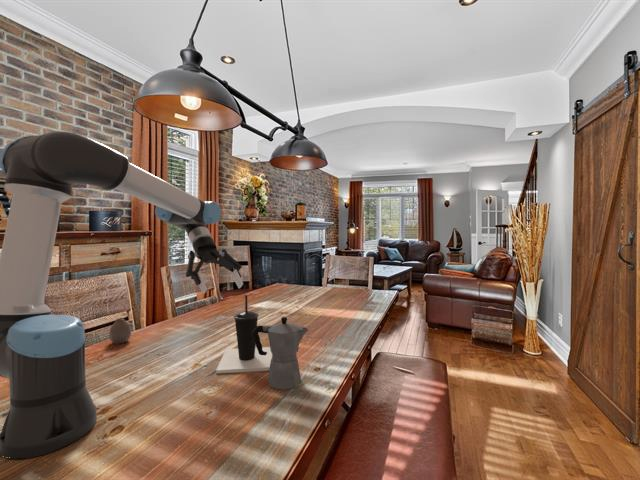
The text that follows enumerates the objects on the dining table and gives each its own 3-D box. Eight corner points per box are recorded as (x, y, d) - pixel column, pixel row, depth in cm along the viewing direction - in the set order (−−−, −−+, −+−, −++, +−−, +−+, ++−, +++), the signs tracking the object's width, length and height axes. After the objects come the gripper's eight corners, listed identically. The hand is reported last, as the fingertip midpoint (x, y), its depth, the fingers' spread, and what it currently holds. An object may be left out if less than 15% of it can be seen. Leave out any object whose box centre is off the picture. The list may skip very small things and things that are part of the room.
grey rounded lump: (120, 346, 110) (120, 322, 110) (104, 344, 112) (103, 321, 111) (135, 339, 117) (135, 316, 117) (120, 338, 118) (119, 315, 118)
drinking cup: (229, 359, 96) (228, 296, 96) (245, 351, 103) (244, 292, 103) (248, 364, 93) (247, 299, 92) (263, 355, 100) (263, 294, 99)
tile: (271, 370, 91) (271, 367, 91) (216, 373, 89) (215, 370, 89) (273, 349, 107) (273, 346, 107) (226, 351, 105) (226, 348, 105)
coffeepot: (309, 373, 89) (309, 312, 89) (307, 390, 80) (307, 322, 79) (256, 373, 89) (255, 312, 89) (248, 390, 80) (247, 322, 79)
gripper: (228, 247, 125) (249, 289, 115) (164, 250, 106) (183, 301, 97) (235, 234, 121) (258, 277, 112) (170, 235, 102) (191, 287, 93)
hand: (223, 288), depth 104 cm, fingers open, 13 cm apart
